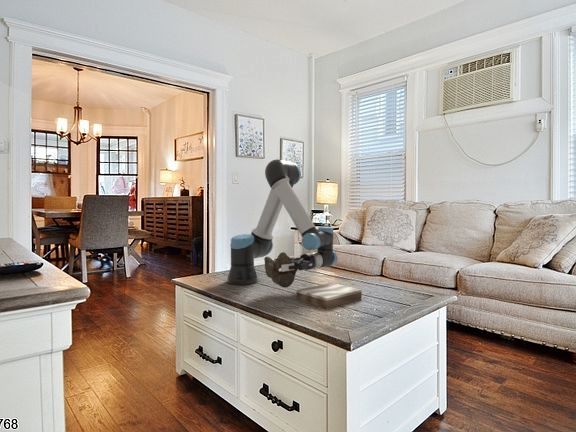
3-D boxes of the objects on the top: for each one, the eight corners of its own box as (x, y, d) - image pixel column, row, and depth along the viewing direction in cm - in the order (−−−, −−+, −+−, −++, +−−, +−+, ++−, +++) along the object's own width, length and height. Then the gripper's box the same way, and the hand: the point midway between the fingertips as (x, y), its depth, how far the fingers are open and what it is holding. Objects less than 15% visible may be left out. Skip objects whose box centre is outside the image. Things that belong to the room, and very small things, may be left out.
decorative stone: (272, 291, 150) (272, 254, 149) (258, 285, 158) (258, 251, 158) (302, 286, 159) (303, 251, 158) (287, 281, 168) (288, 248, 167)
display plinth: (296, 299, 151) (296, 289, 151) (331, 291, 165) (331, 282, 165) (326, 308, 139) (326, 298, 138) (361, 299, 152) (361, 289, 152)
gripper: (328, 273, 161) (291, 279, 147) (293, 265, 179) (257, 270, 165) (329, 256, 161) (291, 261, 147) (294, 250, 179) (257, 253, 164)
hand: (273, 266), depth 156 cm, fingers closed on decorative stone, 11 cm apart
